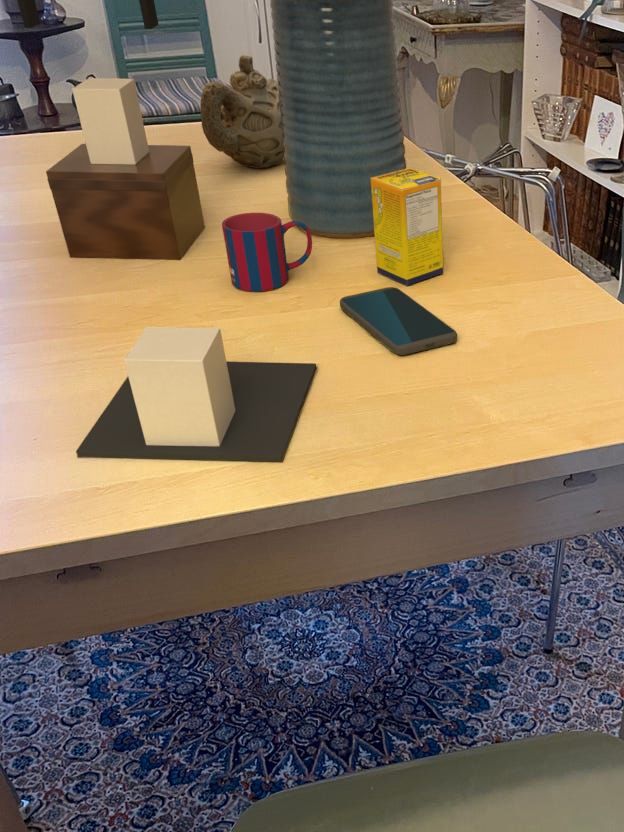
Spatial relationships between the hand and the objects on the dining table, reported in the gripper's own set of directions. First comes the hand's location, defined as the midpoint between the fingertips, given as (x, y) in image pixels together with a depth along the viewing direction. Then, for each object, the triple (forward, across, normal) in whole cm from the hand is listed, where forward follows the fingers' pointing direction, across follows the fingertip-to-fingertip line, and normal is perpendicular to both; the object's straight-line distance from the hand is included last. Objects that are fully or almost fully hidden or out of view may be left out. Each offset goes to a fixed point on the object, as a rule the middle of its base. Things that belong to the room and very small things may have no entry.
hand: (92, 26), depth 106 cm
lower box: (+14, 0, 0) cm, 14 cm away
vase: (+24, -26, -10) cm, 37 cm away
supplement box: (+24, -36, +9) cm, 44 cm away
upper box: (+23, -20, +49) cm, 57 cm away
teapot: (+24, -8, -34) cm, 42 cm away
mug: (+24, -20, +12) cm, 33 cm away
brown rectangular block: (+24, 0, 0) cm, 24 cm away
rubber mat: (+24, -20, +44) cm, 54 cm away
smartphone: (+24, -36, +24) cm, 49 cm away
